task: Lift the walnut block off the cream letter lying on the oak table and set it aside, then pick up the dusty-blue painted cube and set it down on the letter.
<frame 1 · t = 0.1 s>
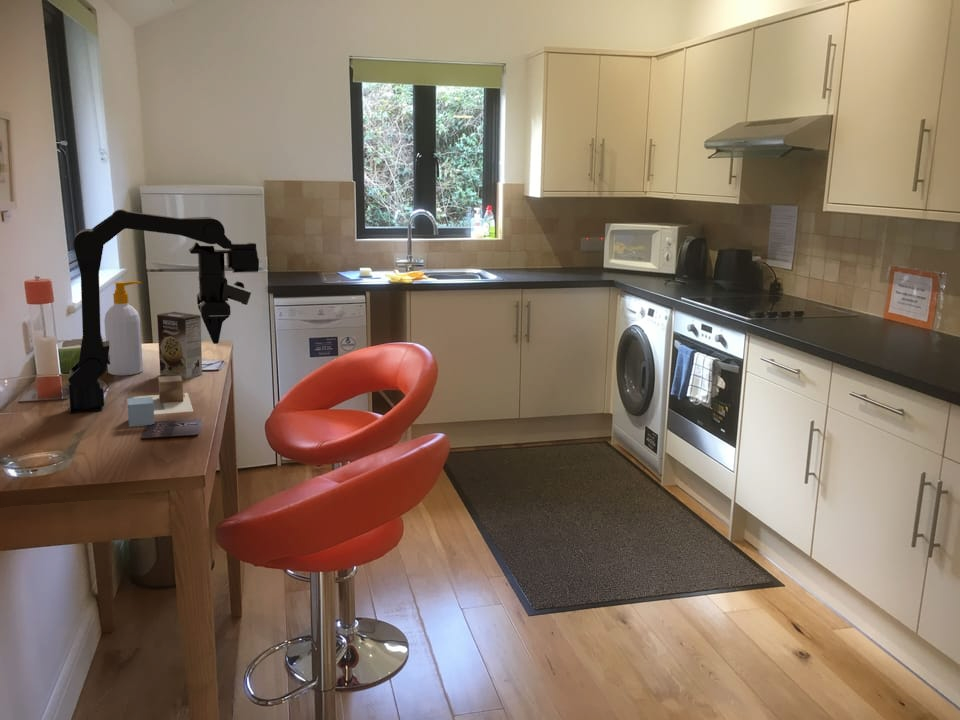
hand: (214, 339, 191), 14 cm above the table, fingers open, 9 cm apart
letter: (163, 404, 189), on the table
walnut block: (171, 399, 192), resting on letter
soap bottle: (127, 372, 216), on the table
coffee box: (181, 375, 215), on the table
blue cube: (141, 423, 175), on the table
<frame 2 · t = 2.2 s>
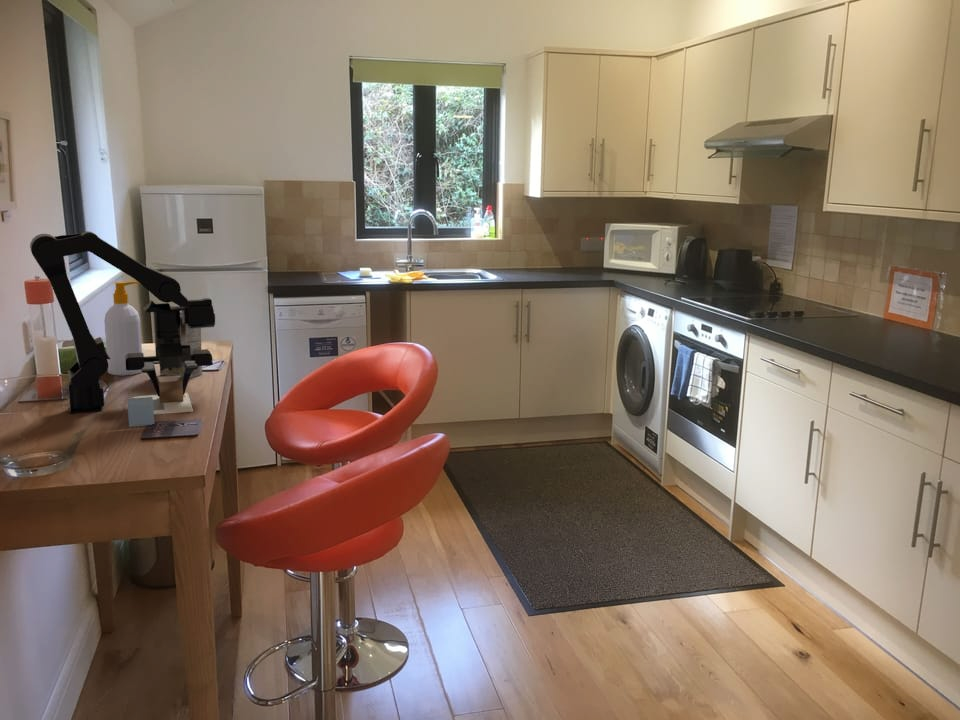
hand: (171, 395, 192), 1 cm above the table, fingers closed on walnut block, 5 cm apart
walnut block: (171, 399, 192), resting on letter, touching gripper
everything else where it was.
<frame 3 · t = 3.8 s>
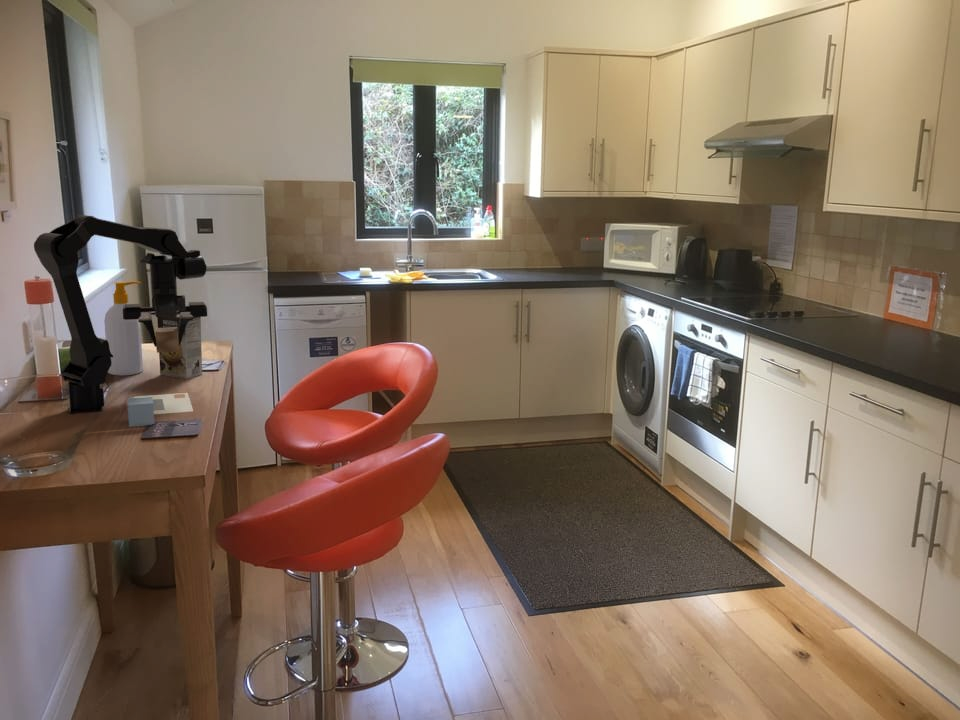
hand: (167, 345, 198), 11 cm above the table, fingers closed on walnut block, 5 cm apart
walnut block: (167, 349, 198), point 10 cm above the table, touching gripper
everything else where it was.
when the fingers open (2 cm above the table, at t = 5.8 s): walnut block drops 2 cm, on the table.
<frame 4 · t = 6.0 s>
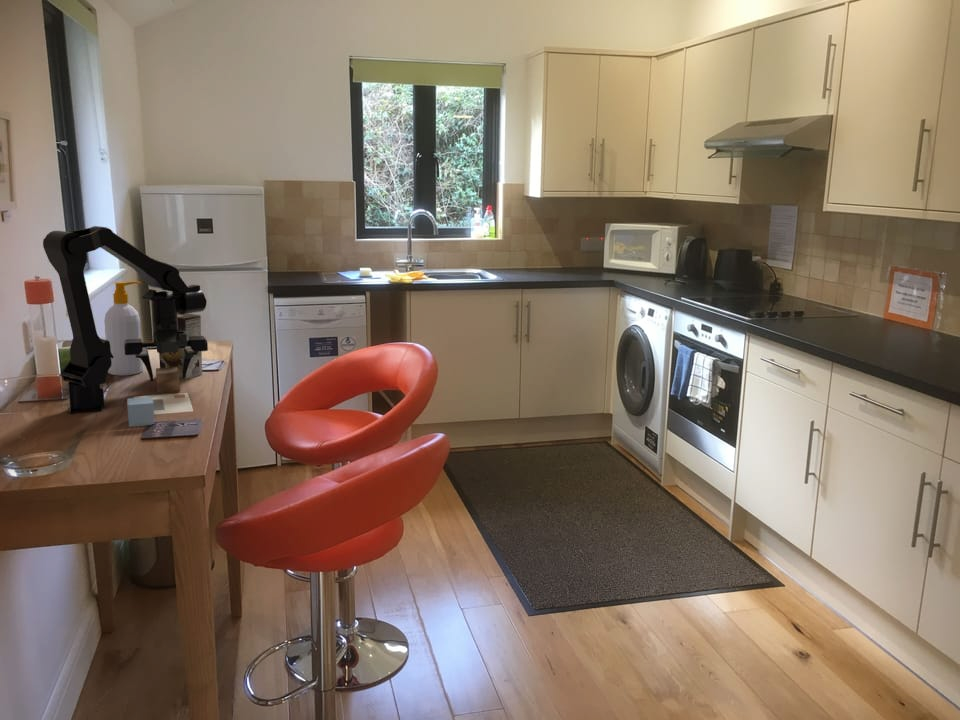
hand: (168, 379, 201), 2 cm above the table, fingers open, 7 cm apart
walnut block: (168, 389, 201), on the table
everything else where it was.
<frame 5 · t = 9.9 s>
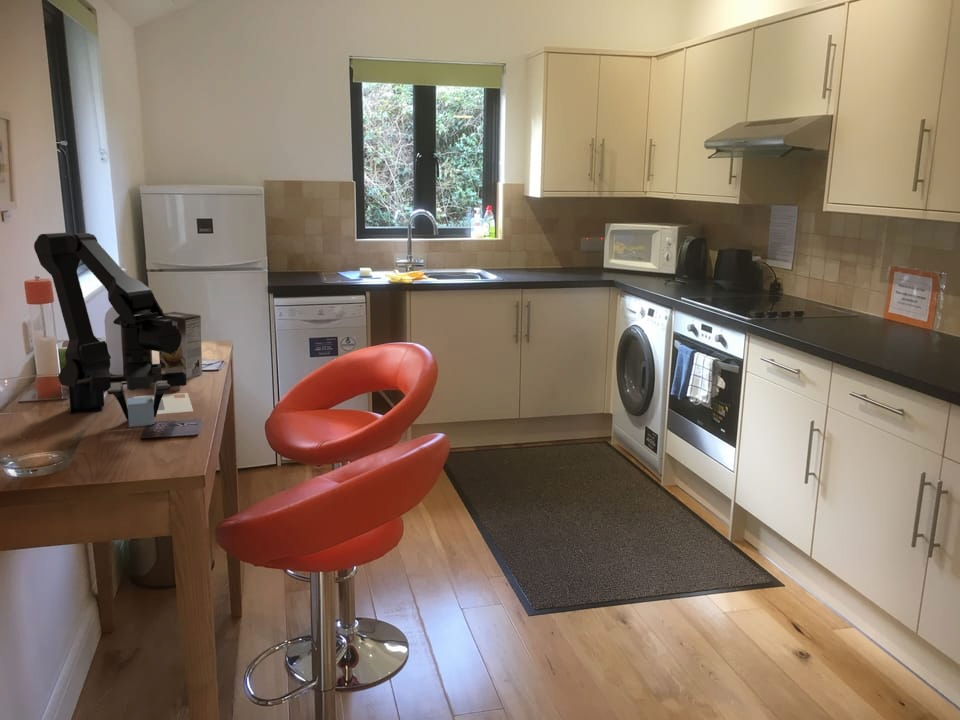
hand: (141, 418, 175), 1 cm above the table, fingers closed on blue cube, 5 cm apart
blue cube: (141, 422, 175), on the table, touching gripper
everything else where it was.
when the fingers open (3 cm above the table, at t = 13.7 s): blue cube drops 2 cm, resting on letter.
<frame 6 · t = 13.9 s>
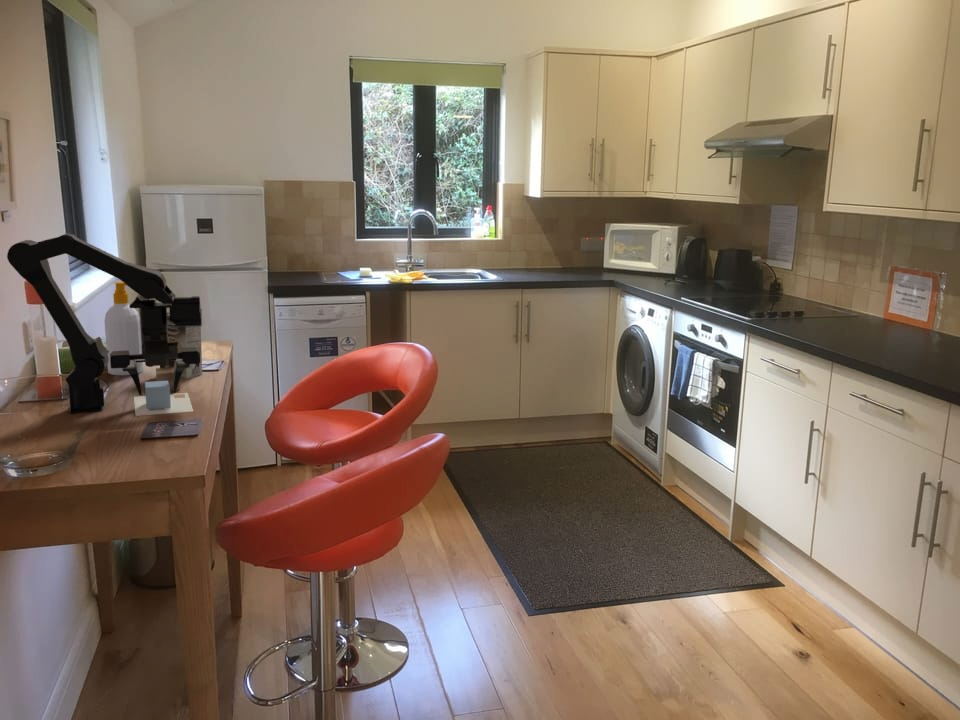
hand: (157, 394, 187), 3 cm above the table, fingers open, 7 cm apart
blue cube: (158, 405, 188), resting on letter
everything else where it was.
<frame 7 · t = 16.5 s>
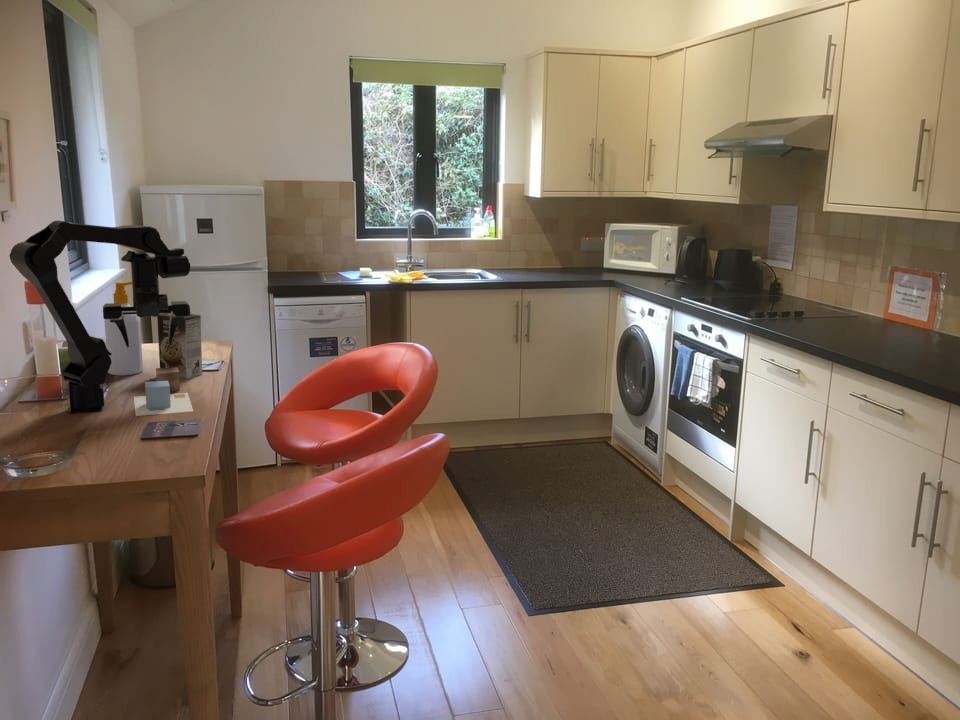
hand: (149, 345, 193), 12 cm above the table, fingers open, 9 cm apart
nothing on the table moved.
at the end: blue cube inside the target area on the letter (1.4 cm from its centre), point 0.2 cm above the letter's base; blue cube tilted 0°; walnut block inside the target area (15.1 cm from its centre), on the table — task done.
